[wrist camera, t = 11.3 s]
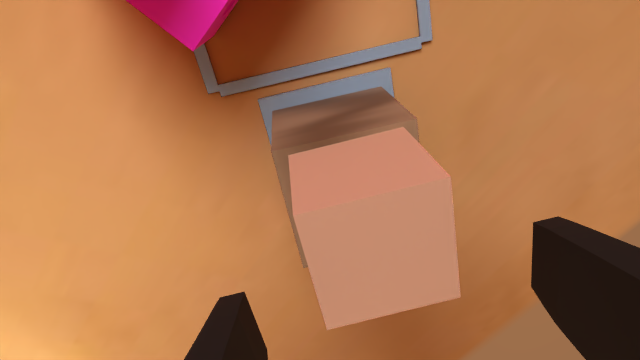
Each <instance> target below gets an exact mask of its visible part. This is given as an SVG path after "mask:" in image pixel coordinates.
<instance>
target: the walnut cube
mask: <svg viewBox="0 0 640 360" xmlns="http://www.w3.org/2000/svg"><path fill="white" fill-rule="evenodd" d="M401 127H404V128H405V129H406V130H407V131H408V132H409V133H410V134H411V135H412V136H413V137H414V138H415V139H416V140H417V142H418V143H419V135H418V124H417V118H416V117H415V116H414V115H413V114H411V113H410V112H409V111H408V110H407V109H406V108H405V107H404V106H403V105H401V104H400V103H399V102H398V101H397V100H396V99H395V98H394V97H393V96H391V95H390V94H389V93H388V92H387V91H386V90H385V89H384V88H382V87H381V86H380V87H375V88H371V89H367V90H362V91H358V92H353V93H349V94H345V95H340V96H336V97H331V98H327V99H323V100H318V101H314V102H309V103H305V104H301V105H296V106H292V107H287V108H283V109H279V110H274V111H272V139H271V153H272V156H273V160H274V164H275V167H276V171H277V174H278V178H279V182H280V185H281V189H282V192H283V196H284V200H285V203H286V207H287V210H288V214H289V218H290V221H291V225H292V228H293V232H294V236H295V239H296V243H297V246H298V250H299V254H300V257H301V261H302V264H303V268H306V267H308V265H307V261H306V258H305V254H304V251H303V248H302V244H301V241H300V238H299V234H298V231H297V227H296V224H295V221H294V217H293V209H292V197H291V184H290V172H289V159H288V155H291V154H295V153H299V152H303V151H308V150H312V149H316V148H320V147H324V146H328V145H332V144H336V143H340V142H344V141H348V140H352V139H356V138H360V137H364V136H368V135H372V134H376V133H380V132H384V131H388V130H392V129H396V128H401Z"/></svg>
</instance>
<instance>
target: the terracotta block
mask: <svg viewBox="0 0 640 360" xmlns="http://www.w3.org/2000/svg"><path fill="white" fill-rule="evenodd" d="M288 159H289V172H290V184H291V197H292V209H293V217H294V221H295V224H296V227H297V231H298V234H299V238H300V241H301V244H302V248H303V251H304V254H305V258H306V261H307V265H308V268H309V271H310V275H311V278H312V281H313V285H314V288H315V291H316V295H317V298H318V302H319V305H320V308H321V312H322V315H323V318H324V322H325V325H326V328H327V330H329V329H333V328H338V327H342V326H346V325H350V324H354V323H358V322H362V321H366V320H370V319H374V318H378V317H382V316H387V315H391V314H395V313H399V312H403V311H407V310H411V309H415V308H419V307H423V306H427V305H431V304H435V303H440V302H444V301H448V300H452V299H456V298H460V297H461V294H460V282H459V270H458V258H457V245H456V233H455V221H454V209H453V197H452V184H451V176H450V175H449V174H448V173H447V172H446V171H445V170H444V169H443V168H442V167H441V166H440V165H439V164H438V163H437V162H436V161H435V159H434V158H433V157H432V156H431V155H430V154H429V153H428V152H427V151H426V150H425V149H424V148H423V147H422V146H421V145H420V144H419V143H418V142H417V140H416V139H415V138H414V137H413V136H412V135H411V134H410V133H409V132H408V131H407V130H406V129H405V128H404V127H401V128H396V129H392V130H388V131H384V132H380V133H376V134H372V135H368V136H364V137H360V138H356V139H352V140H348V141H344V142H340V143H336V144H332V145H328V146H324V147H320V148H316V149H312V150H308V151H303V152H299V153H295V154H291V155H288Z"/></svg>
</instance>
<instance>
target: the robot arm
mask: <svg viewBox="0 0 640 360" xmlns="http://www.w3.org/2000/svg"><path fill="white" fill-rule="evenodd" d="M531 287H532V289H533V290H534V292H535V293H536V295H537V296H538V298H539V300H540V301H541V303H542V304H543V306H544V307H545V309H546V310H547V312H548V313H549V315H550V316H551V318H552V319H553V320H554V322H555V323H556V325H557V326H558V327H559V328H560V329H561V331H562V332H563V333H564V334H565V335H566V337H567V338H568V339H569V340H570V342H572V344H573V345H574V346H575V347H576V349H577V350H578V351H579V352H580V353H581V355H582V356H583V357H584V358H585V359H586V360H640V248H638V247H636V246H633V245H631V244H628V243H626V242H623V241H621V240H618V239H616V238H613V237H611V236H608V235H606V234H603V233H601V232H598V231H596V230H593V229H591V228H588V227H585V226H583V225H580V224H578V223H575V222H572V221H570V220H567V219H564V218H561V217H554V218H550V219H546V220H541V221H537V222H533V248H532V278H531ZM184 360H268V355H267V348H266V346H265V343H264V340H263V338H262V335H261V333H260V330H259V328H258V325H257V323H256V320H255V318H254V315H253V312H252V310H251V307H250V305H249V302H248V300H247V297H246V295H245V292H241V293H237V294H233V295H228V296H224V297H220V298H219V300H218V301H217V303H216V305H215V306H214V308H213V310H212V312H211V313H210V315H209V317H208V319H207V321H206V322H205V324H204V326H203V328H202V329H201V331H200V333H199V335H198V336H197V338H196V340H195V342H194V343H193V345H192V347H191V349H190V350H189V352H188V354H187V355H186V357H185V359H184Z"/></svg>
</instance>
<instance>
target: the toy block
mask: <svg viewBox="0 0 640 360" xmlns="http://www.w3.org/2000/svg"><path fill="white" fill-rule="evenodd" d="M126 1H127V2H129V3H130V4H131V5H132V6H134V7H135V8H136V9H138V10H139V11H140V12H142V13H143V14H144V15H146V16H147V17H148V18H150V19H151V20H152V21H154V22H155V23H156V24H158V25H159V26H160V27H161V28H163V29H164V30H165V31H167V32H168V33H169V34H171V35H172V36H173V37H175V38H176V39H177V40H179V41H180V42H181V43H183V44H184V45H185V46H187V47H188V48H189V49H190V50H192V51H194V50H196V49H197V48H198V47H200V46H201V45H202V44H204V43H205V42H206V41H208V40H209V39H210V38H212V37H213V36H214V35H215V33H216V32H217V30H218V29H219V28H220V26H221V25H222V23H223V22H224V20H225V19H226V18H227V16H228V15H229V13H230V12H231V10H232V9H233V8H234V6H235V5H236V3H237V2H238V0H126Z"/></svg>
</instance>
